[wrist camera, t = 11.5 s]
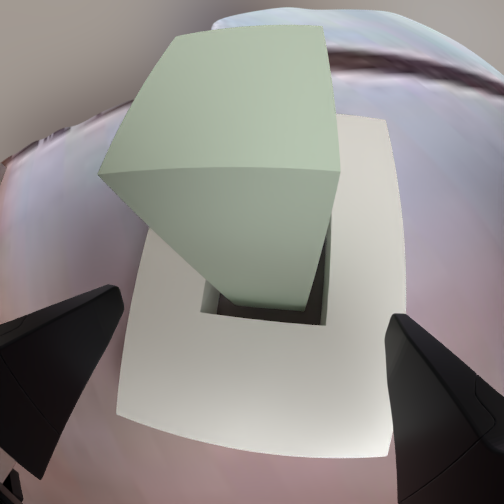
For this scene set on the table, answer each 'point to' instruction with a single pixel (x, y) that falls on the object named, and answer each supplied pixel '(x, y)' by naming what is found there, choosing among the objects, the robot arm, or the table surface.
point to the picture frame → (2, 171)
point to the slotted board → (279, 333)
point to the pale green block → (236, 158)
